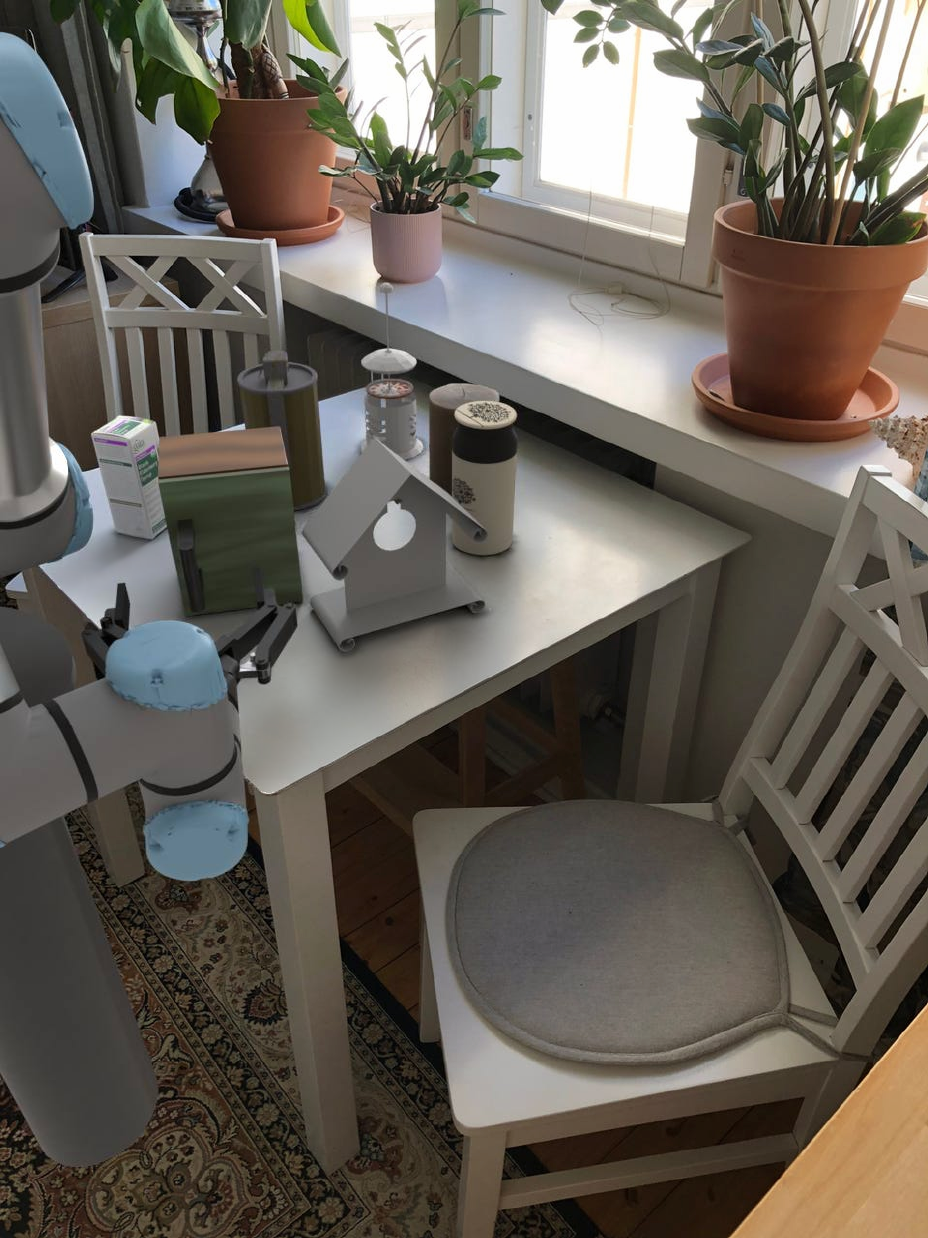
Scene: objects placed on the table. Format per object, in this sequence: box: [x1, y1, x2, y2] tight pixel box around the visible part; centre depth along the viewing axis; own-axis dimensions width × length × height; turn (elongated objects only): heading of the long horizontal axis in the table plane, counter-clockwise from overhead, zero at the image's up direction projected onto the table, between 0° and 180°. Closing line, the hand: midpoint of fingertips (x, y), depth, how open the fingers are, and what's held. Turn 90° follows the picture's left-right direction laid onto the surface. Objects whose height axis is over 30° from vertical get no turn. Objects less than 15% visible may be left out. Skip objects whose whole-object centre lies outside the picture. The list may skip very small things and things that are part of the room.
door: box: [158, 467, 304, 617], centre depth 101 cm, size 7×14×17 cm, turn 104°
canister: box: [236, 350, 328, 512], centre depth 125 cm, size 11×10×20 cm
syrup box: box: [90, 415, 167, 540], centre depth 119 cm, size 6×6×14 cm
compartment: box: [158, 426, 288, 480], centre depth 108 cm, size 10×14×18 cm
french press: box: [360, 282, 424, 461], centre depth 137 cm, size 10×12×25 cm
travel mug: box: [451, 401, 519, 556], centre depth 116 cm, size 8×8×18 cm
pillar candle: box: [428, 383, 500, 497], centre depth 130 cm, size 10×10×15 cm
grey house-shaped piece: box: [301, 437, 488, 653], centre depth 103 cm, size 18×10×20 cm, turn 117°
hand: (191, 585), depth 97 cm, fingers open, 13 cm apart
